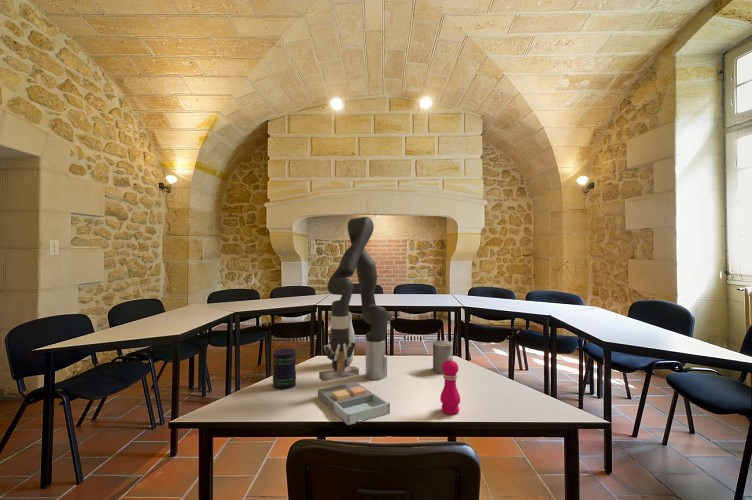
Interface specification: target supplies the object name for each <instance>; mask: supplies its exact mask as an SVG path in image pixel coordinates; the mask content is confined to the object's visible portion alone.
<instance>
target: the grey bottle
mask: <svg viewBox="0 0 752 500" xmlns="http://www.w3.org/2000/svg"><path fill="white" fill-rule="evenodd" d="M352 317H353V314H352V313H351V311H349V341H350V342H353V343H355V330H354V327H353V322H352V320H353V319H352ZM348 348H349V345H348V346H347V348H346V350H348ZM354 357H355V349H354V350H353V352H352V355H351V357H348V358H347V366H350V365H351V364H352V363H353V361H354Z"/></svg>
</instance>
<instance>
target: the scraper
mask: <svg viewBox="0 0 752 500" xmlns="http://www.w3.org/2000/svg"><path fill="white" fill-rule="evenodd" d="M335 352H336V351H335ZM336 361H337V370H334V369H330V370H323V371H319V372H318V378H319V380H321V382H326V381H327V382H328V381H333V380H337V379H344V378H349V377H353V376H354V377H355V376H359V375H360V369H359V367H357V366H355V365H353V366H348V367H347V366H346V368H345V354H344V351H340V352H339V353H338V355H337V360H336Z"/></svg>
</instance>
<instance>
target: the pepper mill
mask: <svg viewBox="0 0 752 500" xmlns="http://www.w3.org/2000/svg"><path fill="white" fill-rule="evenodd" d="M453 359H454V358H452V357H451V356H449V357H448V360H447V361H445V362H444V363H443V364H442V370H443V372H444V374H443V373H442V375H443V379H444V384H443V385H444V386H443V389H442V391H441V394H440V398H439V399H440V400H439V401H440V402H441V412H442V413H443V414H446V415H449V416H451V415H452V416H455V415H457V414H459V413H460V406H459V405H460V404H461V396H460V393H459V391H458V388H457V379H458V374H457V373H458V372H459V364H458V362H456V361H454V360H453ZM452 360H453V361H452Z"/></svg>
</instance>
